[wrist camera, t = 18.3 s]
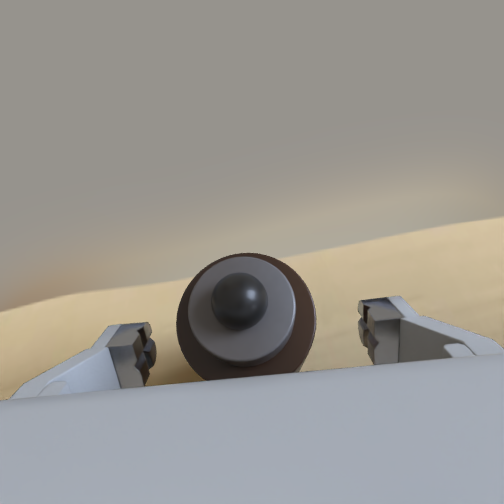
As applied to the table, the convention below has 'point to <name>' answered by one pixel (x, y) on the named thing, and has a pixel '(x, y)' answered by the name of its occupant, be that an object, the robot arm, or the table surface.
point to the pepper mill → (246, 318)
